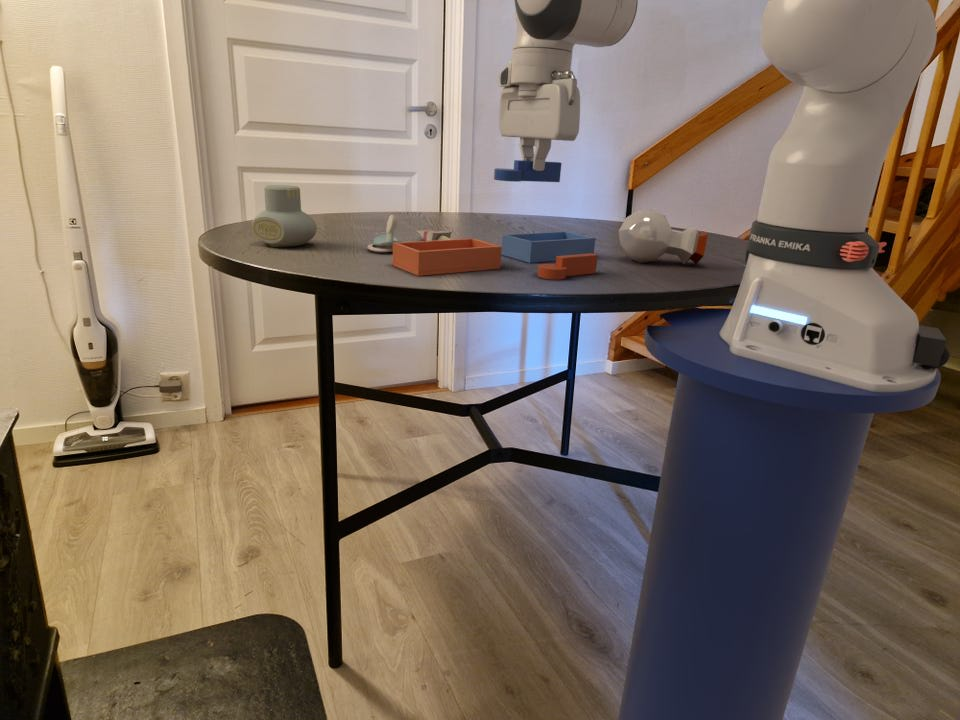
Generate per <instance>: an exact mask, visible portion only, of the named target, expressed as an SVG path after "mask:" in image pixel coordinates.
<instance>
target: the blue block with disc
mask: <svg viewBox="0 0 960 720" xmlns="http://www.w3.org/2000/svg"><path fill="white" fill-rule="evenodd" d="M530 166H531V161H523V160H522V159H521V160H520V159H519V160H518V159H514V161H513V168H498V167H497V168H494V172H493V180H494V181H501V182H516V183H517V182H518V183H519V182H539V183H540V182H541V183H560V182H561V174H562V173H561V172H562V162H559V161H545V168H544V170H543V171H535V170H532V169H531V168H530Z"/></svg>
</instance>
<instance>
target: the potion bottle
mask: <svg viewBox="0 0 960 720" xmlns="http://www.w3.org/2000/svg"><path fill="white" fill-rule="evenodd" d="M708 237H709V234H708V233H707V232H705V231H704V230H702V231H700V232H699V230H698V229H697V228H696V227H693V226H690V227H688V228H686V229H684V230H683V231H681V230H677V229H672V226H671V224H670V222H669V220H668V217H667V215H665V214H663V213H661V212H659V211H656V210H654V209H652V208H650V209H649V208H648V209H647V208H646V209H642V208H641V209H638V210H637V211H634V212H633V213H631V214H630V215H627V217H625V219H624V221H623V223H622V224H621V226H620V228H619V229H618V243H619V245H620V247H621V250H622V252H623V254H624V256H625V257H627V258H628V259H631V260H632V261H635V262H637V263H639V264H644V263H653V262H655V261H657V260H658V259H659V258H661V257H662V256H663V255H665V254H668V255H672V256H677V257H678V258H679V260H680V261H681V263H682V264H683V265H685V264H686V263H687V262H688V261H689V260H690V261H692V262H693V264H694V265H695V266H697V265H698V263H699V262H700V261H701V260H702V259H703V258H704V256H705V252H706V246H707V242H708Z"/></svg>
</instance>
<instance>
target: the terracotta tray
mask: <svg viewBox="0 0 960 720" xmlns="http://www.w3.org/2000/svg"><path fill="white" fill-rule="evenodd" d="M451 239H452V238H451ZM501 252H502V245H499V244H495V243H491V242H488V241H483V240H480V239H477V238H455V239H454V238H453V239H452V240H434V241H426V240H417V241H402V242H398V243H393V252H392V266H393V267H395V268H398V269H401V270H403V271H405V272H408V273H410V274H412V275H415V276H417V277H422V276H433V275H445V274H457V273H467V272H468V273H469V272H476V271H477V272H479V271H487V270H489V271H490V270H500V269H501V263H502V255H501Z"/></svg>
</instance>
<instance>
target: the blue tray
mask: <svg viewBox="0 0 960 720" xmlns="http://www.w3.org/2000/svg"><path fill="white" fill-rule="evenodd" d="M501 241H502V242H501V246H502V250H501V256H505V257H508V258H512V259H515V260H518V261H522V262H525V263H529V264H534V263H544V262H545V263H546V262H556V256H565V255H577V254H589V253H592V254H595V246H596V237H593V236H589V235H583V234H579V233H574V232H571V231H565V230H563V231H545V232H544V231H543V232H528V233H527V232H526V233H525V232H524V233H508V234H502V239H501Z"/></svg>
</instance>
